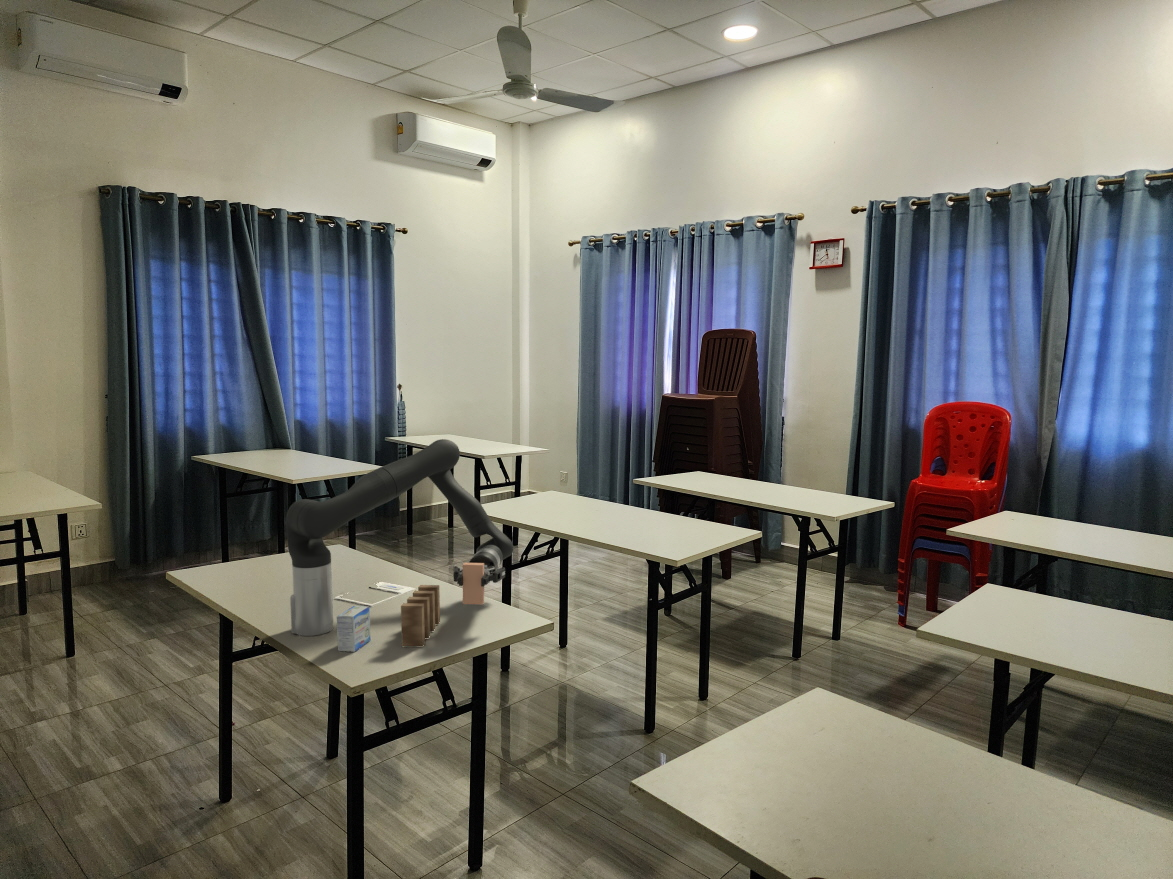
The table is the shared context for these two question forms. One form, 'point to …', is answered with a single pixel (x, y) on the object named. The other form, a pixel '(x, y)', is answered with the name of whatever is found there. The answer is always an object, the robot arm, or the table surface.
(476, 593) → the tile
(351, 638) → the medicine box
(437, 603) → the tile
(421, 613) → the tile
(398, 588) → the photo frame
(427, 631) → the tile
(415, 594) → the tile
